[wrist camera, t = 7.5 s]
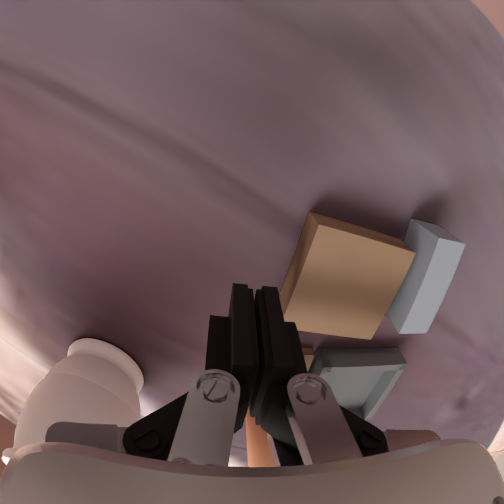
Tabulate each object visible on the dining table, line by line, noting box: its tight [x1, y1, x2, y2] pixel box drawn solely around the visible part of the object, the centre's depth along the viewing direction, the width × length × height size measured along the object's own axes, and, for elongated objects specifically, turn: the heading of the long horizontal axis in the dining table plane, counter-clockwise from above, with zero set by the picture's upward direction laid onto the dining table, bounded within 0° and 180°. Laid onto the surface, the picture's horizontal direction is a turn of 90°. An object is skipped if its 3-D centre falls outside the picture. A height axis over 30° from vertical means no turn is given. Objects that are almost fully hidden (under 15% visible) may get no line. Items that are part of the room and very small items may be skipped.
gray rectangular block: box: [386, 219, 465, 334], centre depth 20 cm, size 8×3×4 cm, turn 171°
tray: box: [308, 347, 407, 422], centre depth 27 cm, size 10×9×2 cm
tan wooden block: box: [279, 212, 416, 340], centre depth 21 cm, size 8×8×3 cm
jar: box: [2, 338, 144, 465], centre depth 19 cm, size 11×10×15 cm
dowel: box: [246, 408, 276, 467], centre depth 21 cm, size 3×3×10 cm
